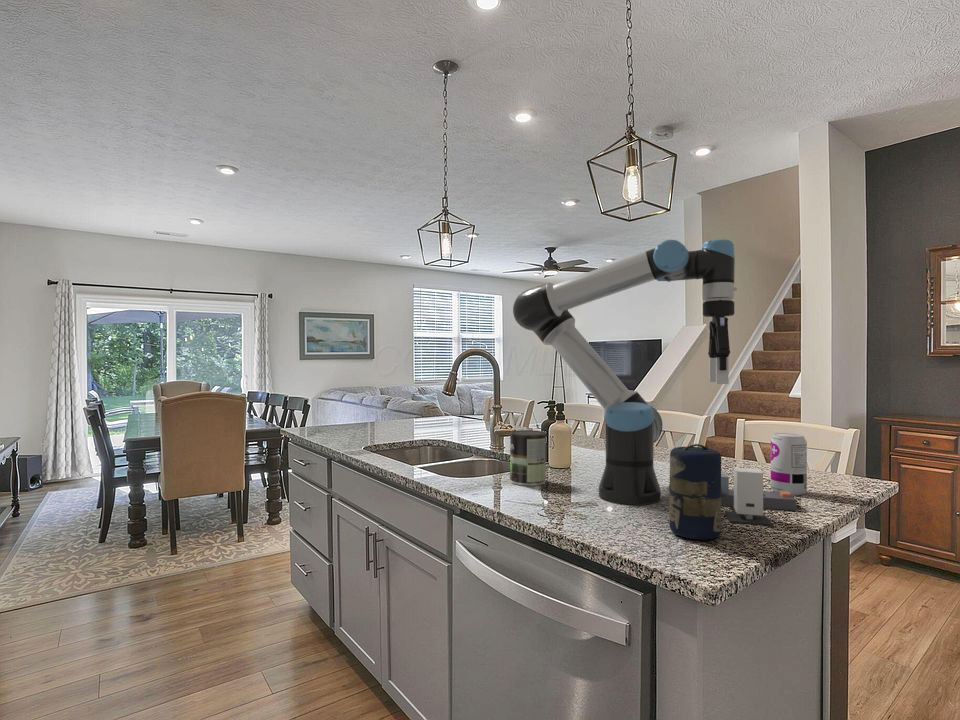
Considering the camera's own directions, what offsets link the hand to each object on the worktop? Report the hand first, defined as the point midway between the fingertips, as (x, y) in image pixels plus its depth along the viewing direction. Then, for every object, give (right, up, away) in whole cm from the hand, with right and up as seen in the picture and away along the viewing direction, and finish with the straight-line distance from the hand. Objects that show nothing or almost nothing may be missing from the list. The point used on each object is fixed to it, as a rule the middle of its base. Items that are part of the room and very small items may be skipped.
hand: (718, 383), depth 139 cm
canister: (-19, -29, -33) cm, 48 cm away
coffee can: (-48, -29, +14) cm, 58 cm away
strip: (-1, -29, -10) cm, 30 cm away
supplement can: (+20, -29, +2) cm, 35 cm away
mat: (-3, -29, -22) cm, 36 cm away
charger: (-3, -28, -22) cm, 36 cm away
